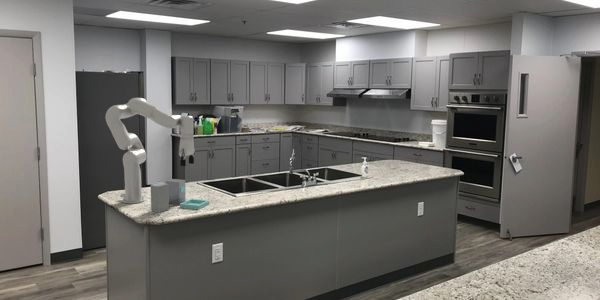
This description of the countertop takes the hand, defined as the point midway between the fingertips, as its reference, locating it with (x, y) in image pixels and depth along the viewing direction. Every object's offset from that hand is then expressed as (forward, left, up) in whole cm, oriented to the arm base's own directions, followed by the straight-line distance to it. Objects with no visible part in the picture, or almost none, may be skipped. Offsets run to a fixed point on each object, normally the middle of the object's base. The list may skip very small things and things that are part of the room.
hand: (187, 164), depth 291 cm
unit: (-8, 0, -24) cm, 26 cm away
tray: (+6, -2, -24) cm, 25 cm away
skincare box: (-7, -19, -24) cm, 32 cm away
